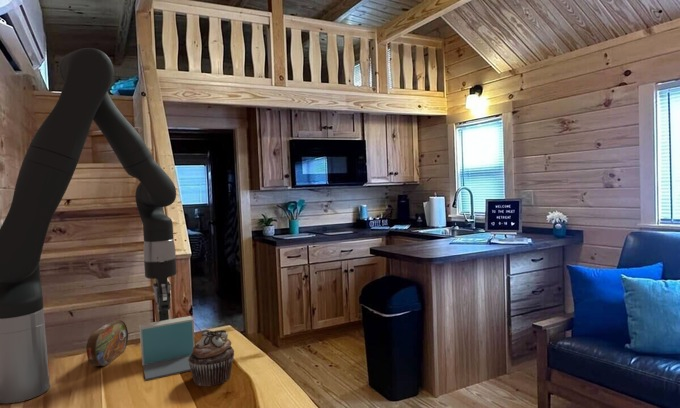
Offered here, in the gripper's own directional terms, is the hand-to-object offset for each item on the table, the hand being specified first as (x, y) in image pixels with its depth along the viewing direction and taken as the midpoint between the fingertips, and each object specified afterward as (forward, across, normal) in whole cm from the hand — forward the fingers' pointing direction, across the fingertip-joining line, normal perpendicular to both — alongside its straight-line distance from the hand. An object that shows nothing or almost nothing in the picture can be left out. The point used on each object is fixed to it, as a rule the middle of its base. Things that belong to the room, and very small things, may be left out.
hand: (164, 324), depth 116 cm
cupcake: (+7, +24, +7) cm, 26 cm away
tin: (+7, -1, -13) cm, 15 cm away
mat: (+6, +13, 0) cm, 15 cm away
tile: (+7, +6, 0) cm, 9 cm away
